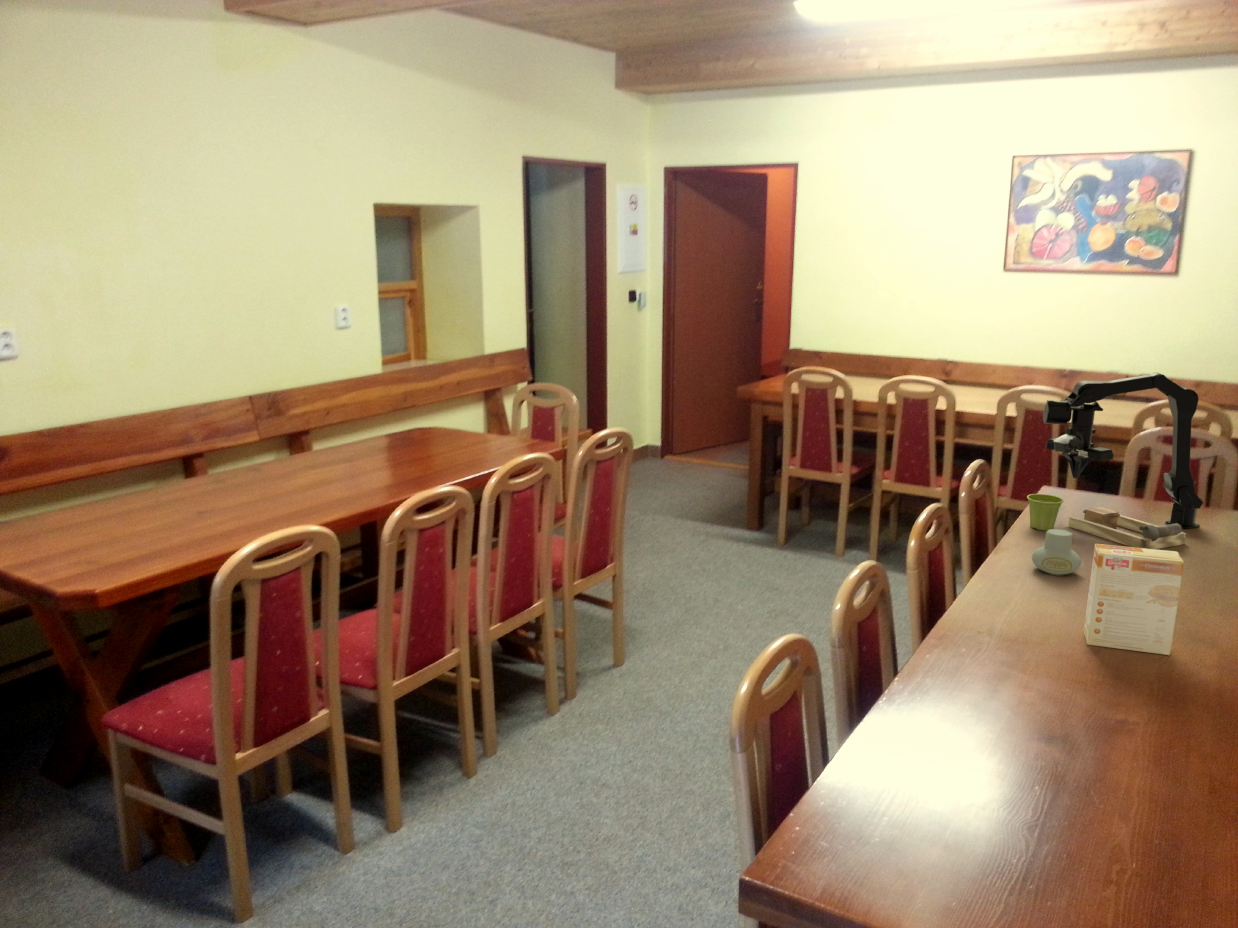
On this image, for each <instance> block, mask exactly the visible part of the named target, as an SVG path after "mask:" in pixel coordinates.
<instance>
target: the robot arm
mask: <svg viewBox="0 0 1238 928" xmlns="http://www.w3.org/2000/svg"><path fill="white" fill-rule="evenodd" d="M1152 389H1157V391H1159V392H1161V393H1162V394H1164V395H1165V396H1167V402H1168V405H1169V410H1170V412H1171V413H1170V414H1171V417H1172V420H1173V421H1172V423H1173V424H1172V445H1171V446H1172V447H1171V448H1172V449H1171V451H1172V452H1171V453H1172V455H1171V456H1172V457H1171V468H1170V470H1169V472H1163V484H1162V486H1163V488H1164V489H1165V491H1166V494H1167V493H1168V495H1169V496H1170V498H1171V500H1172V501H1174V502H1173V504H1172V507H1171V508H1172V509H1171V514H1170V519H1169V520H1165V521H1164V523H1165V524H1166V525H1170V524H1176V523H1177V524H1179V525H1181V527H1182V529H1185V530H1186V529H1187V530H1188V529H1194V528H1199V527H1201V524H1198V523H1196V519H1197V512H1198V509H1199V510H1200V509H1201V507H1202V505H1203V504H1204V502H1203V500H1202V499H1201V498H1200V497H1199V496H1198V495H1197V493H1196V486H1195V481H1194V477H1193V473H1192V471H1191V447H1192V446H1191V444H1192V420H1193V418H1194V416H1195V413H1196V412H1197V407H1198V404H1199V394H1198V393H1197V392H1196V391H1195V390H1193V389H1191V388H1188V387H1186V386H1183V385H1180V384H1177V383H1176V382H1174V381H1173V380H1171V379H1169V378H1168V377H1167V376H1166V375H1165V374H1163V373H1160V372H1153V373H1150V374H1143V375H1137V376H1136V375H1135V376H1132V377H1124V378H1119V379H1111V380H1080V381H1078V382H1077V383H1076V384H1075V385H1074V387H1073V390H1072V392H1071V393H1069V395H1068V396H1066V397H1065V399H1064V400H1053V399H1047V400H1046V404H1045V405H1044V408H1043V410H1042V421H1043V424H1047V425H1048V424H1049V425H1066V424H1068V423H1069V422H1070V421H1071V422H1070V427H1067V428H1066V432H1065V434H1062V435H1060V436H1059V437H1055V438H1049V439H1047V441H1046V444H1045V449H1046V450H1047V449H1048V450H1052V451H1055V452H1060V453H1061V456H1064V457H1065V458H1066V459H1067V461H1068V464H1069V467H1070V472H1071V474H1072V478H1073V479H1078V478H1079V477H1080V475H1081V474H1082V473H1083V472H1084V470H1085V468H1086V467H1087V465H1088V464H1089V463H1090V462H1091V461H1092V460H1093V461H1096V462H1098V461H1099V462H1103V461H1111V460H1113V459H1114V452H1113V449H1109V448H1105V447H1094V445H1095V443H1092V438H1093V437H1092V436H1093V434H1096V430H1097V429H1096V428H1094V421H1095V413H1096V412H1103V411H1104V408H1103V407H1101V406H1100V404H1099V402H1098V401H1101V400H1104V399H1106V398H1109V397H1111V396H1115V395H1121V394H1127V393H1133V392H1140V391H1145V390H1152Z"/></svg>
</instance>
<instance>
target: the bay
mask: <svg viewBox="0 0 1238 928" xmlns="http://www.w3.org/2000/svg"><path fill="white" fill-rule="evenodd" d="M1068 519H1069V520H1068V525H1067V526H1068V527H1069V528H1072V529H1075V530H1079V531H1082V532H1085V533H1089V534H1090V535H1094V536H1097V537H1101V538H1104V539H1106V540H1109V541H1112V542H1116V543H1118V544H1122V545H1125V546H1127V547H1135V548H1145V549H1155V550H1160V549H1164V548H1169V547H1176V546H1181V545H1185V542H1186V535H1187V533H1186V532H1184V531H1183V528H1182V527H1181V525H1179V524H1177V523H1176V524H1166V525H1165V524H1164V525H1156V524H1153V523H1151V522H1146V521H1144V520H1139V519H1136V518H1132V517H1129V516H1126V515H1122V514H1120V517H1118V520H1117V527H1118V526H1119V527H1121V528H1125V529H1128V530H1132V531H1135V532H1137V533H1142V537H1141V536H1138V535H1135V534H1132V533H1129V532H1125V531H1122V530H1120V529H1117V528H1116V529H1113V528H1110V527H1106V526H1103V525H1100V524H1097V523H1094V522H1090V521H1087V520H1084V518H1080V517H1077V516H1069V518H1068Z"/></svg>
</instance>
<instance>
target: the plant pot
mask: <svg viewBox="0 0 1238 928" xmlns="http://www.w3.org/2000/svg"><path fill="white" fill-rule="evenodd" d="M1026 498H1027V500H1028V505H1029V506H1028V507H1029V526H1030V527H1031V528H1032V529H1036V530H1038V531H1045V532H1046V531H1048V530H1050V529H1055V524H1056V521H1057V517H1058V514H1059V510H1060V508H1061V506H1062V504H1063V503H1064V500H1065V499H1063V498H1062V497H1060V496H1056V495H1052V494H1046V493H1031V494H1028V495H1027V496H1026Z"/></svg>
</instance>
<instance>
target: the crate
mask: <svg viewBox="0 0 1238 928" xmlns="http://www.w3.org/2000/svg"><path fill="white" fill-rule="evenodd" d="M1082 512H1083V514H1084V517H1083V519H1084V520H1087V521H1090V522H1094V523H1097V524H1100V525H1103V526H1106V527H1110V528H1113V529H1116V530H1117V527H1118V525H1117V520H1118V517H1120V515H1121V514H1120V512H1118V511H1116V510H1112V509H1109V508H1105V507H1103V506H1097V507H1091V508H1085V509H1083V511H1082Z"/></svg>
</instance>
